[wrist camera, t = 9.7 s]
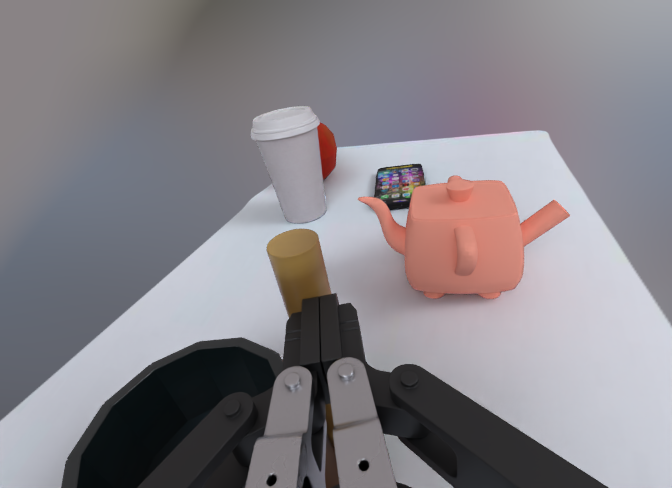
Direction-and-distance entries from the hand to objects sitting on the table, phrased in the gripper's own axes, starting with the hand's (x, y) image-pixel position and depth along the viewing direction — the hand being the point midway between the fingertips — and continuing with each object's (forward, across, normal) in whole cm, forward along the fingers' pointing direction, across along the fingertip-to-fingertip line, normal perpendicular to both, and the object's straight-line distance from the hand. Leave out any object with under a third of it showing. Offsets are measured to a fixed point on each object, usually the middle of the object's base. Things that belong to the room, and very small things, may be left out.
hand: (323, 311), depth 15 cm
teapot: (+17, -12, +13) cm, 24 cm away
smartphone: (+41, -11, +13) cm, 44 cm away
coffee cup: (+38, +4, +13) cm, 40 cm away
